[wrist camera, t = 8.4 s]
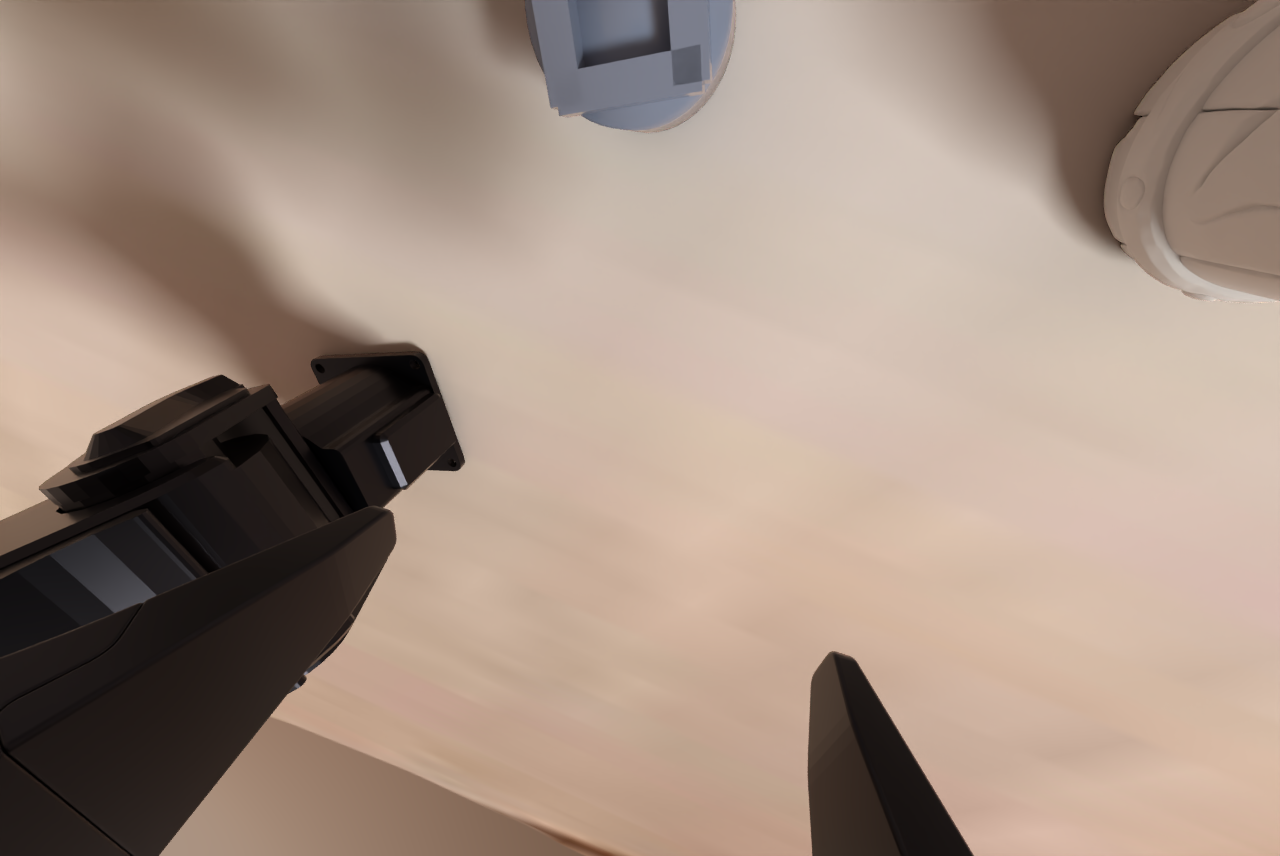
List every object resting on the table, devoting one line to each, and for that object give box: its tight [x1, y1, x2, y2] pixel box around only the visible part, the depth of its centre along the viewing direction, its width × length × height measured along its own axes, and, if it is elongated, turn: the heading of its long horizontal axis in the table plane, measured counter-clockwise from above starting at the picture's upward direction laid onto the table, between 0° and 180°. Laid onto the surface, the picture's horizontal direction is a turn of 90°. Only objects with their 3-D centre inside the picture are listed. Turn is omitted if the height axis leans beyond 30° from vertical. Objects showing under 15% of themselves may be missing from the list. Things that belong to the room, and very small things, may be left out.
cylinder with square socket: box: [525, 0, 736, 133], centre depth 13 cm, size 5×5×4 cm
